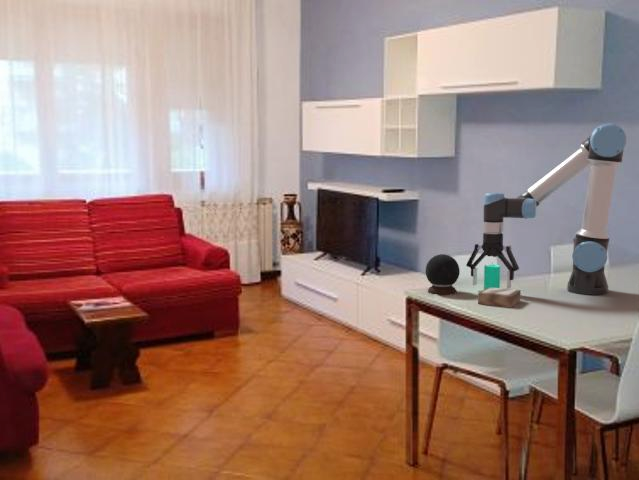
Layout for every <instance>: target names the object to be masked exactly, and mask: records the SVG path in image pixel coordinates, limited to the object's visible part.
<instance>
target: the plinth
mask: <svg viewBox="0 0 639 480" xmlns="http://www.w3.org/2000/svg"><path fill="white" fill-rule="evenodd" d="M477 294H478V295H477V304H478V305H484V306H494V307H502V308H503V307H504V308H510V309H511V308H512V307H514V306H516V304H518V303H519V302H521V290H519V289H512V288H509V289H507V288H502V287H500V288H493V287H488V288H487V289H485V290H484V289H482V290H481V291H480V292H478V293H477Z"/></svg>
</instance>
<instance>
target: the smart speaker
mask: <svg viewBox="0 0 639 480" xmlns="http://www.w3.org/2000/svg"><path fill="white" fill-rule="evenodd" d="M460 272H461V271H460V266H459V263H458V262H457V260H456V259H455V258H454V257H453V256H451V255H449V254H446V253H445V254H444V253H443V254H437V255H434V256H433V257H432V258H430V259H429V260H428V262H427V264H426V266H425V275H426V279H427V280H428V282H429V283H430V284H431V286H429V288H428V289H427V293H428V294H430V293H431V294H430V295H434V294H439V295H438V296H451V295H450V294H453V295H456V294H457V293H458V292H457V291H458V290H457V288H456V287H454V286H453V285H455V283H457V281H458V279H459V276H460ZM455 293H456V294H455Z"/></svg>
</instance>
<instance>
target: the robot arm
mask: <svg viewBox="0 0 639 480" xmlns="http://www.w3.org/2000/svg"><path fill="white" fill-rule="evenodd" d="M626 144H627V136H626V133H625V131H624V130H623V128H622V127H621V126H619V125H617V124H615V123H609V122H608V123H602V124H600V125H598V126H597V127H595V129H594V130H593V131H592V133H591V135H589V136H588V137H587V138H586V139H585V140H584V141H583V142H581V143H580V147H579V148H578V149H577V150H576V151H574V152H573V153H572V154H571V155H569V156H568V157H567V158H566V159H565V160H563V161H562V162H561V163H559V164H558V165H557V166H555V167H554V168H553V169H551V170H550V171H549V172H548V173H547V174H546V175H544V176H543V177H542V178H540V179H539V180H538V181H537V182H535V183H534V184H533V185H531V186H530V187H529V188H528V189H527V190H525V191H524V192H523V193H521V194H520V195H518V196H517V197H516V198H514V197H513V198H511V197H510V198H509V197H508V198H507V197H505V194H504V193H503V192H487V193H485V194H484V198H483V227H482V228H483V229H482V230H483V231H482V232H483V234H482V244H480V243H475V244H474V249H473V250H472V251H473V252H471V254H470V257H469V259H468V260H467V263H466V265H465V266H466V267H467V268H470V276H471V277H472V286H476V285H478V267H477V266H478V265H479V264H480V263H481V262H482V260H483V259H485V257H486V256H487V257H493V258H496V257H498V259H500V261H501V262H502V263H503V265H504V266H505V267H506V268H507V270H508V271H507V275H506V276H507V277H506V289H512V281H513V280H514V278H515V272H516V271H518V270H519V269H520V267H519V265H518V262H517V260H516V258H515V255H514V254H513V251H512V245H508V246H507V245H506V246H504V245H503V244H504V234H503V232H504V218H507V219H508V218H509V219H510V218H512V219H526V220H527V219H535V218H536V216H537V207H539V206H540V205H541V204H542V203H544V201H547V200H548V199H549V198H550V197H551V196H552V195H554V194H555V193H557V191H559V190H561V189H562V188H563V187H564V186H566V185H567V184H568V183H569V182H571V181H572V180H573V179H574V178H576V177H577V176H578V175H580V174H581V173H583V172H584V171H585V170H586V169H587V168H589V167H590V170H589V177H588V181H587V182H588V184H587V189H586V197H585V203H584V210H583V217H582V223H581V228H580V229H579V230H578V231H577V232H576V233H574V235H573V248H572V249H573V251H572V256H571V257H572V271H571V274H570V277H569V279H568V281H567V284H566V285H567V286H566V290H567V291H568V292H571V293H573V294H574V293H575V294H578V295H579V294H581V295H591V296H592V295H595V296H596V295H597V296H598V295H605V294H608V293H609V284H608V281H607V277H606V273H605V265H606V264H607V261H608V250H609V249H608V248H609V242H610V236H609V234H608V233H607V227H608V220H609V216H610V215H609V214H610V208H611V202H612V196H613V189H614V184H615V178H616V173H617V171H616V170H617V167H618V166H619V165H621V164H622V163H623V157H624V151H625V150H624V149H625V148H626ZM481 249H482V251H483V252H482V253H481V254H480V255H479V256H478V258H477V259H476V260H475V258H476V257H477V255H478V253H479V250H481ZM503 251H504V252H505V253H506V255H507V257H508V259H509V260H508V259H507V258H506V256H505V254H504V253H503ZM474 260H475V261H474ZM509 261H510V262H509Z"/></svg>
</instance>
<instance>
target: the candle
mask: <svg viewBox="0 0 639 480" xmlns="http://www.w3.org/2000/svg"><path fill="white" fill-rule="evenodd" d="M483 272H484V275H483V277H484V278H483V290H485V289H487V288H488V287H493V288H501V287H500V286H501V285H500V284H501V283H500V280H501V265H498V264H493V262H492V263H491V264H488V265H487V264H485V265H484V271H483Z"/></svg>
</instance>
